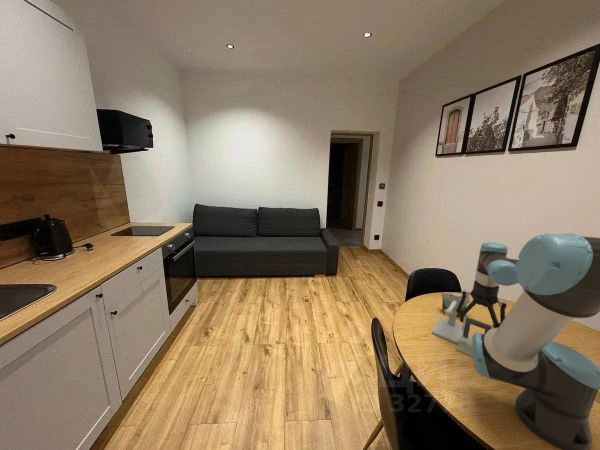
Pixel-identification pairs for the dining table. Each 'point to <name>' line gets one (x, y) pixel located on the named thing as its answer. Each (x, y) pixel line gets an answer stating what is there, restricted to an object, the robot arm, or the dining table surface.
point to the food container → (448, 300)
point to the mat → (465, 346)
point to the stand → (449, 323)
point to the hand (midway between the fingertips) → (476, 334)
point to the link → (476, 323)
